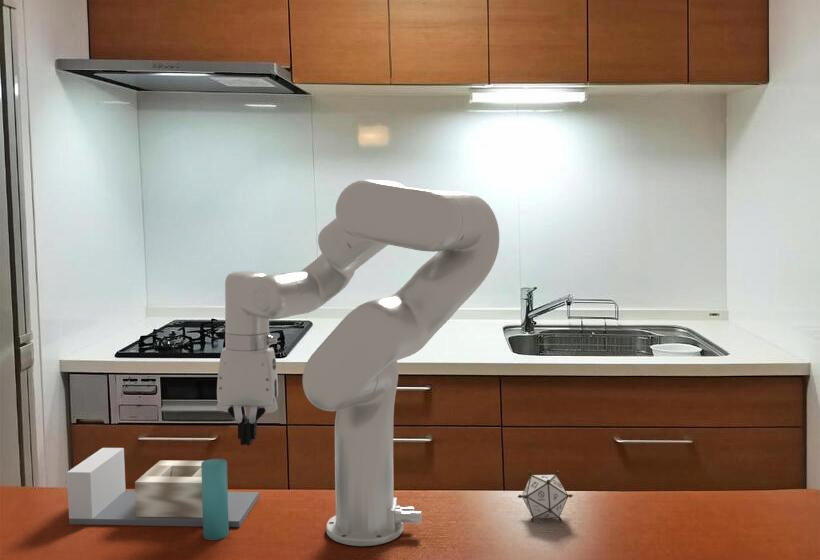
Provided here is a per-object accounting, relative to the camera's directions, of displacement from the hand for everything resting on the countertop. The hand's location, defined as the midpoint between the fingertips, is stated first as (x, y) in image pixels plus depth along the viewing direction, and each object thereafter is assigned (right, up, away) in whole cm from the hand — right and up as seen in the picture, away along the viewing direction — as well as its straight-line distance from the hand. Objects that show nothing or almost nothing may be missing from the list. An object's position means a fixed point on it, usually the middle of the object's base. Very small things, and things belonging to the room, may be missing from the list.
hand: (247, 442), depth 134 cm
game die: (+52, -12, -6) cm, 54 cm away
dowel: (-2, -12, -12) cm, 17 cm away
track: (-13, -11, -2) cm, 18 cm away
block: (-11, -10, -2) cm, 15 cm away
